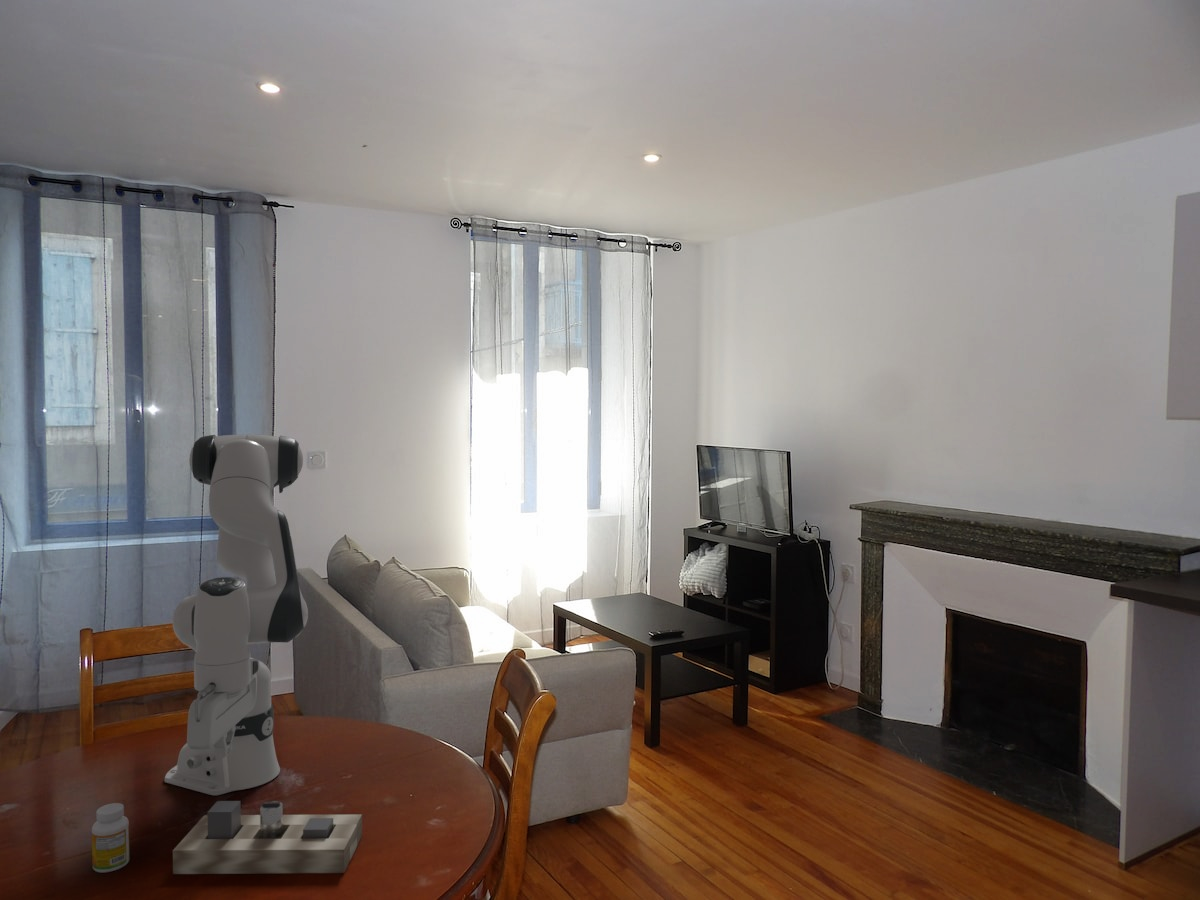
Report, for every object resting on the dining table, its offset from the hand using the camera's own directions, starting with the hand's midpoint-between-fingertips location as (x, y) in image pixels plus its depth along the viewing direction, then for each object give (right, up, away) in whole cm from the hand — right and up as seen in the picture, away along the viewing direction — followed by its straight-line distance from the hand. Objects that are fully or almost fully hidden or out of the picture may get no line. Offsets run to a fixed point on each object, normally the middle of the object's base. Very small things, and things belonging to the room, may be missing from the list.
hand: (223, 754), depth 144 cm
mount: (+8, -18, +1) cm, 19 cm away
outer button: (+16, -17, +2) cm, 23 cm away
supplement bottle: (-18, -18, -2) cm, 25 cm away
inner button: (0, -14, +1) cm, 14 cm away
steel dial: (+8, -14, +1) cm, 16 cm away
